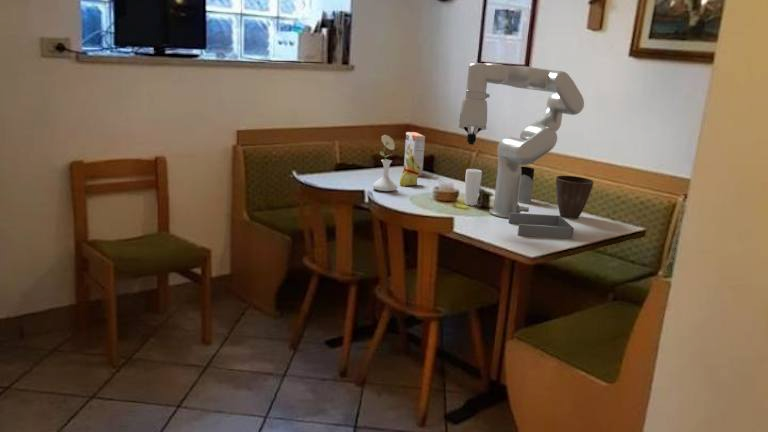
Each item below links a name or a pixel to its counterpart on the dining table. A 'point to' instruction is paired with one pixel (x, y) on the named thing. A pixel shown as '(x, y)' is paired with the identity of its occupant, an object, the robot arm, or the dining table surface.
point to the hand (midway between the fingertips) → (470, 144)
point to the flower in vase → (386, 168)
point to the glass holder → (526, 185)
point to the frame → (554, 229)
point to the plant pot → (572, 195)
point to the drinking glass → (472, 186)
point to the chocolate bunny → (410, 172)
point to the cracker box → (415, 148)
